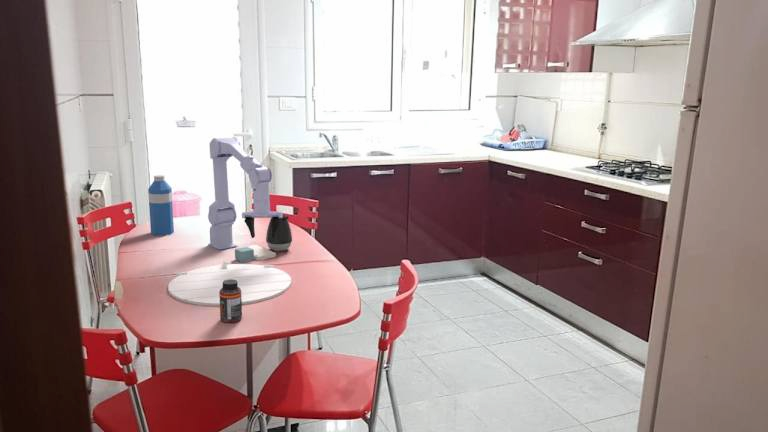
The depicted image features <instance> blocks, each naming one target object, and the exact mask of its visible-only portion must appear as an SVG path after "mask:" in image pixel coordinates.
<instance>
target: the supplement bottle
mask: <svg viewBox="0 0 768 432" xmlns="http://www.w3.org/2000/svg"><path fill="white" fill-rule="evenodd" d="M237 286H238V283H237V280H234V279H228V280H224V281H223V288H222V289H220V292H219V294H220V296H219V297H220V306H219V313H220V314H219V316H220V321H222V322H223V323H226V324H229V323H232V324H234V323H237V322H239V321H241V320H242V318H243V305H242V297H241V289H240V288H239V287H237Z"/></svg>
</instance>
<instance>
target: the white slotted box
mask: <svg viewBox="0 0 768 432" xmlns="http://www.w3.org/2000/svg"><path fill="white" fill-rule="evenodd" d="M242 247H243V246H242ZM242 247H240V248H242ZM245 247H249V248H251V249H254V260H256V261H261V260H266V259H267V260H268V259H271V258H275V257H277V253H276V252H275V251H273V250H269V249H267V248H264V247H261V246H259V245H256V244H252V245H251V244H250V245H247V246H245Z"/></svg>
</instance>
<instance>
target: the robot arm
mask: <svg viewBox="0 0 768 432" xmlns="http://www.w3.org/2000/svg"><path fill="white" fill-rule="evenodd" d="M208 145H209V157H210V159H211V160H212V169H213V170H212V172H213V183H214V185H213V186H214V201H213V202H212V203H211V204H210V205H209V206H208V214H207V219H208V221H209V223H210V224H211V226H210V228H209V242H210V243H208V244H207V245H208V246H210V247H212V248H215V249H216V250H219V251H220V250H224V249H230V248H235V247H237V248H238V245H237V244H235V243H234V242H233V240H234V239H233V225H234V224H235V222H236V220H237V216H238V215H237V211H236V208H235V204H234V203H233V202H231V201H230V199H229V182H228V163H227V162H228V160H229V159H230V158H231V157H234V158H235V159H236V160H237V161H238V162H239V163H240V164H239V166H240V168H242V170H243V171H244V172H245V173H246V174H247V175H248V179H249V183H250V187H251V189H252V195H253V196H252V198H253V211H244V212H241V219H244V223H245V224H246V226H247V229H248V231H249V233H250V237H251V239H253V238H255V236H256V233H255V218H256V219H258V218H259V219H264V218H265V219H267V218H269V219H271V218H272V219H271V224H272V238H275V236H276V230H277V226H278V223H279V221H280V218H282V217H283V214H284V213H283V211H271V204H270V203H271V201H270V198H271V197H270V182H271V181H272V179H273V177H272V176H273V175H272V173H273V172H272V170H271V169H270V167H269V166H264V165H261V163H260V162H259V161H258V160H257V159H256V158H255V157H254V156H253V155H248V154H247V153H246V152H245V150H244V149H243V148H242V147H241V142H240V140H239V139H238V138H237V137H236V136H233V137H224V138H223V137H219V138H218V137H214V138H212V139H211V141H210V142H209V144H208Z"/></svg>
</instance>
